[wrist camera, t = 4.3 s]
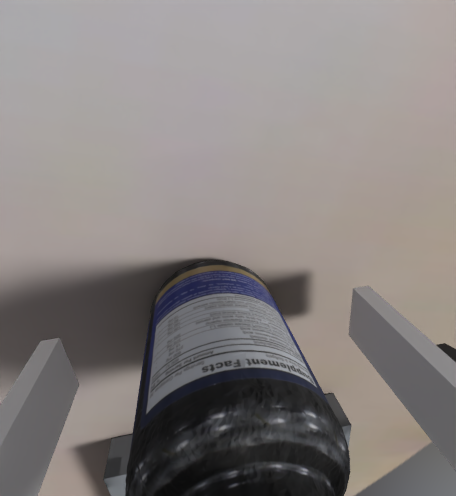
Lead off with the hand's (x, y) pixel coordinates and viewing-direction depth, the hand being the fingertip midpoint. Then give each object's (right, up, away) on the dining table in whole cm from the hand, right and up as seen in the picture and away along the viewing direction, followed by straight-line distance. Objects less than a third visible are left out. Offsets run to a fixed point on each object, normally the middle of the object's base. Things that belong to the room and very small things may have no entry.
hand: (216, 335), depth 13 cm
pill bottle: (0, +1, +2) cm, 2 cm away
